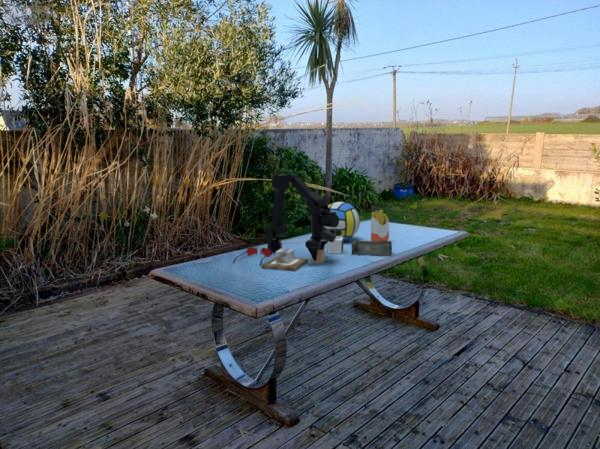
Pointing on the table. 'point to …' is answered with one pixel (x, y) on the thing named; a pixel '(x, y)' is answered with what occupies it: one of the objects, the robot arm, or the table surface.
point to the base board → (284, 267)
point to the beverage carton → (372, 248)
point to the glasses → (253, 251)
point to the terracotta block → (319, 256)
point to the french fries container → (379, 226)
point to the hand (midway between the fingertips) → (318, 258)
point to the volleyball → (345, 219)
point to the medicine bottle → (336, 243)
